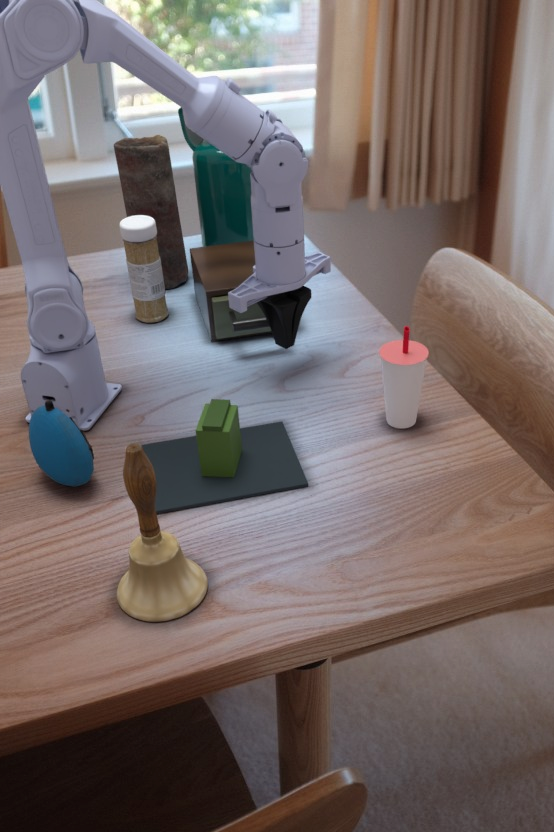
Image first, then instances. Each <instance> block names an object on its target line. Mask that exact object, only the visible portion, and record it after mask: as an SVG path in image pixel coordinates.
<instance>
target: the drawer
mask: <svg viewBox="0 0 554 832" xmlns="http://www.w3.org/2000/svg"><path fill="white" fill-rule="evenodd" d="M212 297H213V298H211V300H212V309H213V318H214V327H215V335H216V338H217V339H221V338H228V337H235V336H242V335H248V334H255V333H262V332H269V331H271V328H270V326H269V323H268V321H267V319H266V317H265V315H264V313H263V311H262V310H261V308H260V307H259V305H258V304H257V303H254V304H252V305H250V306H248V307H247V311H245V312H243V313H239V312H237V311H235V310H233V309H231V308H230V307H229V297H228V294H227V295H220V296H212Z"/></svg>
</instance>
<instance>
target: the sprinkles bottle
mask: <svg viewBox="0 0 554 832" xmlns="http://www.w3.org/2000/svg"><path fill="white" fill-rule="evenodd" d="M119 231H120V232H119V233H120V237H121V239H122V242H123V247H124V251H125V252H124V253H125V258H126V259H125V261H126V266H127V272H128V278H129V285H130V290H131V296H132V299H133V305H134V311H135V312H134V315H135V318H136V319H137V320H138V321H140V322H141V323H142V322H143V323H148V324H149V323H151V324H153V323H158V322H161V321H163V320H165V319H166V318H167V317H168V315H169V309H168V306H167V298H166V289H165V287H164V280H163V273H162V266H161V260H160V256H159V252H158V245H157V239H156V238H157V228H156V223H155V220H154V219H153V218H152V217H150V216H146V215H135V216H130V217H127V216H126V217H124V218H123V219H121V220H120V222H119Z"/></svg>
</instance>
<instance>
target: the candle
mask: <svg viewBox="0 0 554 832" xmlns="http://www.w3.org/2000/svg"><path fill="white" fill-rule="evenodd" d="M113 150H114V155H115V161H116V165H117V171H118V177H119V181H120V187H121V192H122V197H123V198H122V199H123V204H124V210H125V214H126V218H127V217H130V216H135V215H146V216H150V217H152V218H153V219H154V220H155V223H156V228H157V238H156V239H157V245H158V252H159V256H160V260H161V266H162V273H163V280H164V287H165V290H170V289H173V288H176V287H178V286H180V284H182V283H185V282H186V281H187V279H188V275H189V266H188V259H187V254H186V253H187V252H186V248H185V241H184V236H183V229H182V224H181V217H180V212H179V211H180V210H179V206H178V199H177V192H176V186H175V180H174V173H173V166H172V160H171V154H170V153H171V152H170V146H169V143H168V139H167V138H166V137H165V136H163V135H161V134H155V135H153V136H143V137H141V138H139V137H134V138H133V137H124V138H121V139H120V140H118V141H116V142H114V143H113Z"/></svg>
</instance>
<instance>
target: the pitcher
mask: <svg viewBox="0 0 554 832" xmlns="http://www.w3.org/2000/svg"><path fill="white" fill-rule="evenodd" d="M177 114H178V119H179V122H180V126H181V127H180V128H181V131H182V134H183V135H182V136H183V137H184V140H185V142H186V144H187V145H188V147H189V148H190V150H192V156H191V157H192V158H191V159H192V168H193V175H194V185H195V193H196V194H195V195H196V201H197V210H198V220H199V228H200V229H199V230H200V237H201V247H206V246H214V245H222V244H230V243H238V242H246V241H254V237H253V224H252V210H251V194H252V193H251V179H250V173H251V172H253V171H252V169H251V168H250V167H248V166H247V165H246V164H243V163H238V162H236V161H234V160H233V159H231V158H230V157H229V156H227V155H226V154H224V153H223V152H222V151H220V150H219V149H217V148H216V147H214V146H213V145H212V144H210V143H209V142H207V141H206V140H204V139H203V138H202V137H200V136H199V135H197V134H196V133H195V132H193V131H192V130H190V129H189V128H188V127H187V126H186V124H185V121H184V115H183V110H182V107H180V106H179V108H178V109H177Z"/></svg>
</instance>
